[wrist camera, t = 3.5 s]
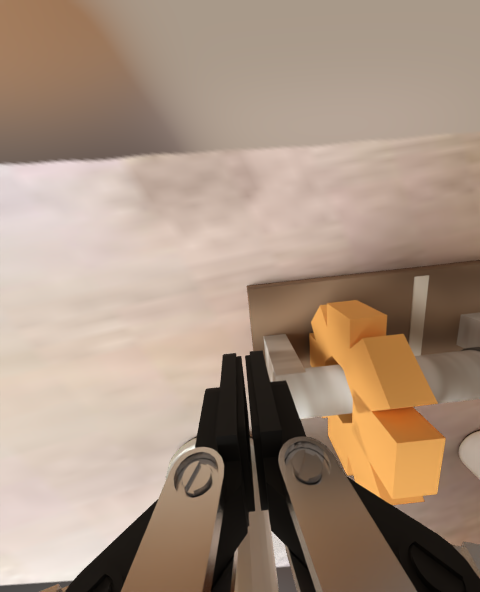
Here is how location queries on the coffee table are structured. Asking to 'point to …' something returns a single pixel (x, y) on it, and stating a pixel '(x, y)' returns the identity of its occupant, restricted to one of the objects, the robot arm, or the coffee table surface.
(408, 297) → the pipe stand
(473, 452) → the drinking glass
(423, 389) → the collar
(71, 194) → the coffee table surface
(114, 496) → the coffee table surface
